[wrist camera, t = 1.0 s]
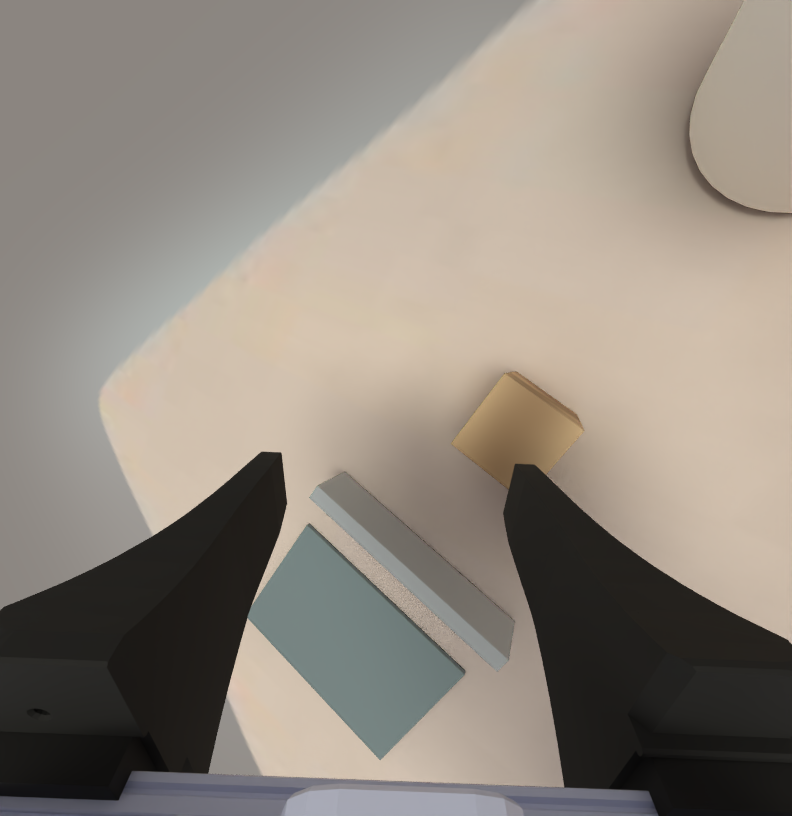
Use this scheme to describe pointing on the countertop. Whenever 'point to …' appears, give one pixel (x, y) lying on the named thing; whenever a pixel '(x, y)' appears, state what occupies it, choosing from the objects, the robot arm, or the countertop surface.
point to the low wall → (418, 568)
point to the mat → (352, 643)
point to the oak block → (517, 429)
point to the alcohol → (749, 110)
